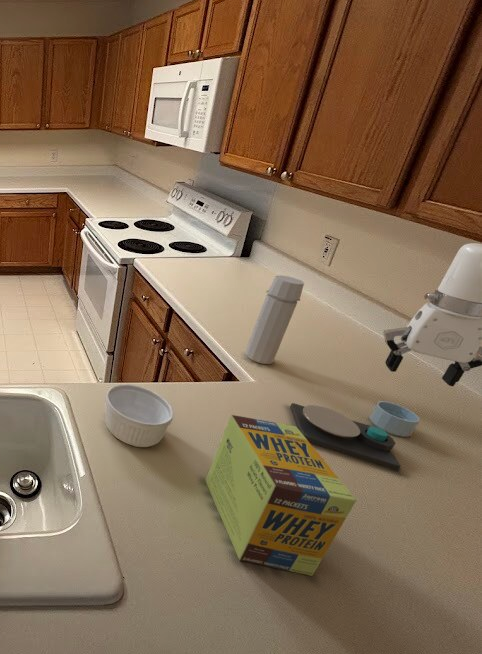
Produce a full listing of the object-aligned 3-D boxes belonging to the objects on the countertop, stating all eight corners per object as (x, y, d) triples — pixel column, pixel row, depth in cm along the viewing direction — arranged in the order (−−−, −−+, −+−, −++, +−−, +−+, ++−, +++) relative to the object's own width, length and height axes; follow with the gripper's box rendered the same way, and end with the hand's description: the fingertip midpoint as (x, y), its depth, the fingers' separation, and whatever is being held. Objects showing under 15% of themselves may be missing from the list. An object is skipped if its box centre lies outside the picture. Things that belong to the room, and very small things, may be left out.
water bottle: (274, 369, 115) (308, 287, 106) (242, 359, 119) (272, 279, 109) (273, 355, 122) (304, 277, 113) (242, 346, 126) (271, 270, 117)
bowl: (402, 423, 96) (411, 407, 95) (416, 442, 90) (426, 426, 89) (363, 412, 99) (372, 397, 98) (374, 430, 93) (383, 414, 92)
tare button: (381, 435, 88) (385, 429, 87) (387, 443, 85) (390, 438, 85) (364, 429, 89) (367, 424, 88) (369, 438, 86) (372, 432, 86)
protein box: (239, 562, 61) (275, 486, 56) (203, 480, 76) (230, 412, 70) (314, 578, 60) (360, 501, 54) (264, 491, 74) (296, 423, 69)
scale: (376, 433, 92) (382, 422, 91) (400, 472, 82) (407, 461, 80) (289, 407, 99) (294, 397, 98) (301, 440, 88) (306, 429, 87)
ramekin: (111, 401, 96) (117, 376, 93) (170, 426, 89) (179, 400, 86) (91, 432, 85) (97, 405, 83) (157, 463, 79) (166, 435, 76)
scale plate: (351, 416, 92) (351, 415, 92) (366, 444, 84) (367, 443, 84) (298, 401, 96) (298, 399, 96) (307, 426, 88) (308, 425, 88)
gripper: (411, 300, 83) (374, 371, 90) (532, 323, 77) (482, 398, 83) (396, 288, 90) (362, 355, 96) (506, 309, 83) (462, 380, 89)
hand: (418, 375), depth 90 cm, fingers open, 9 cm apart
